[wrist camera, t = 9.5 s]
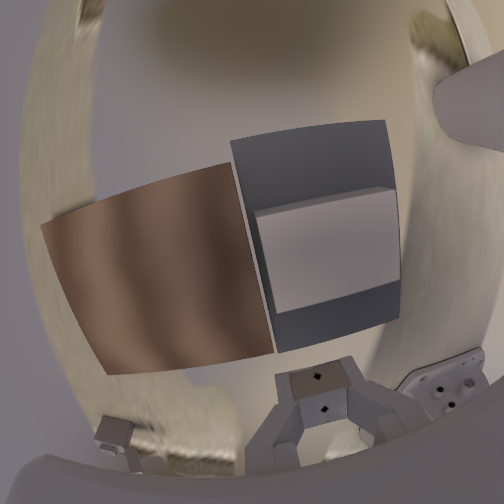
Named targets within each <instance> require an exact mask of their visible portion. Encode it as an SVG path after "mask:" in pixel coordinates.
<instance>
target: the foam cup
mask: <svg viewBox="0 0 504 504" xmlns="http://www.w3.org/2000/svg"><path fill="white" fill-rule="evenodd" d="M433 103H434V109H435V114H436V116H437V118H438V121H439V123H440V125H441V127H442V129H443V130H444V131H445V132H446V133H447V134H448V136H449V137H450V138H452V139H454V140H456V141H458V142H463V143H466V144H471V145H475V146H480V147H484V148H488V149H492V150H496V151H500V152H503V153H504V50H502V51H500V52H497V53H495V54H493V55H491V56H489V57H487V58H485V59H483V60H481V61H478V62H476V63H474V64H472V65H470V66H468V67H466V68H464V69H463V70H461V71H459V72H457V73H455V74H453V75H451V76H449V77H447V78H445V79H444V80H443V81H440V83H439V84H438V85H437V86H436V87H435V90H434V96H433Z"/></svg>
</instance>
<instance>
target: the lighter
mask: <svg viewBox="0 0 504 504" xmlns="http://www.w3.org/2000/svg"><path fill="white" fill-rule="evenodd" d="M133 430H134V427H133V424H132V422H130V421H126V420H122V419H117V418H112V417H108V416H103V417H102V420H101V422H100V424H99V427H98V429H97V432H96V435H95V437H94V441H95V443H96V445H97V446H99V449H100V450H101V451H102V452H103V453H106V454H109V455H113V456H116V455H117V452H122V453H125V455H126V459H127V462H128V465H129V469H130V472H131V473H135V474H143V475H145V474H144V471H143V468H142V466H141V463H140V460H139V457H138V454H137V451H136V449H135V447H134V446H131V447H129V444H130V440H131V437H132V433H133Z"/></svg>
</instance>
